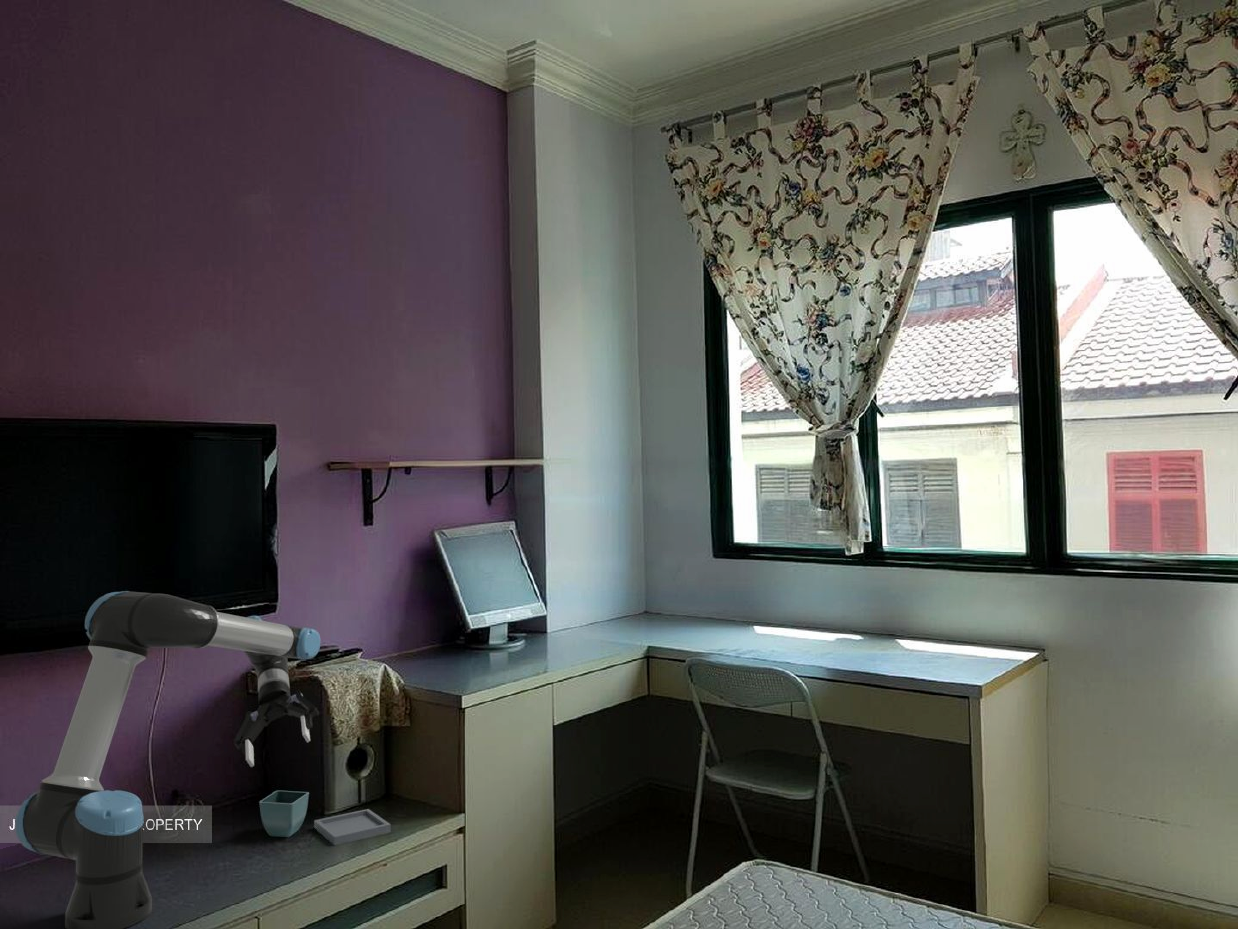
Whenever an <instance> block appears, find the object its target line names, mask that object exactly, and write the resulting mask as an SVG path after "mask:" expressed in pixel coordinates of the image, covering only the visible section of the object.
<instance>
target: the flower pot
mask: <svg viewBox="0 0 1238 929" xmlns="http://www.w3.org/2000/svg"><path fill="white" fill-rule="evenodd" d="M309 795H310V792H309V791H292V790H290V791H289V790H275V791H273V792H272V793H271V794H269V795H267V796H266V797H265V798H263V799H262V800H259V802H258V804H259V812H260V818H261V819H260V820H261V824H262V826H263V828H264V829H265V831H266V833H267V834H268V835H269V836H270V837H279V838H280V837H281V838H289V837H291V836H292V835H294V834H295V833H297V831H299V830H300V828H301V826H302V824H303V823H304V820H305V818H306V815H307V810H308V805H309Z"/></svg>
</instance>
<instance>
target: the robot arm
mask: <svg viewBox="0 0 1238 929" xmlns="http://www.w3.org/2000/svg"><path fill="white" fill-rule="evenodd" d="M84 629H85V630H86V632H85V634H86V635H87V637H88V639H89V640H90V641H89V643H88V646H87V649H88V650H89V652H90V654H91V656H92V659H91V661H90V664H89V667H88V671H87V673H86V677H85V679H84V682H83V686H82V689H81V691H80V694H79V697H78V699H77V703H76V705H75V709H74V711H73V714H72V717H71V720H70V724H69V726H68V729H67V731H66V735H65V738H64V741H63V744H62V746H61V749H60V752H59V754H58V758H57V762H56V764H55V767H54V770H53V772H52V774H50V775H49V776H47V777H46V778H44V779H42V780H41V783H40V785H39V789H38V791H37V792H36V791H35V792H34V793H32V794H30V795H29V797H28V798H27V799H25V800H24V801H23V802H22V804H21V805H20V807H19V808H18V811H17V814H16V818H15V823H14V824H15V825H14V828H15V833H16V834H15V835H16V837H17V839H18V841H19V842H20V844H21V845H22V846H23V847H24V848H25V849H28V850H29V851H32V852H34V853H36V854H39V855H44V856H54V857H59V858H62V859H68V860H69V859H70V860H73V861H75V884H74V888H73V890H72V893H71V895H70V899H69V902H68V904H67V907H66V910H65V914H64V927H65V929H126V928H128V927H129V928H130V927H131V926H134V925H136V924H138V923H140V922H142V921H143V920H144V919H146V918H147V917H148V916H149V915H150V914H151V912H152V911H153V910H152V909H153V907H152V906H153V897H152V894H151V892H150V890H149V886H148V884H147V881H146V879H145V876H144V872H143V848H144V847H143V846H144V820H145V819H144V818H145V817H144V813H143V802H142V800H141V799H140V798H139V796H137V795H136V794H134V793H132V792H130V791H129V792H128V791H126V790H125V791H124V790H117V789H116V790H114V791H113V790H110V789H109V790H106V789H105V790H104V787H103V785H102V784H101V782H100V777H101V775H102V774H101V773H102V770H103V767H104V764H105V762H106V758H107V756H108V755H107V754H108V752H109V749H110V745H111V743H112V740H113V737H114V732H115V731H116V728H117V726H118V721H119V718H120V715H121V712H122V709H123V707H124V706H123V705H124V703H125V700H126V696H127V694H128V691H129V688H130V684H131V681H132V678H133V676H134V675H133V674H134V672H135V668H136V666H137V665H139V664H140V663H141V662H143V661H145V660H146V659H147V657H148V653H149V650H150V649H164V648H165V649H168V648H169V649H171V648H173V649H174V648H189V649H204V648H206V647H207V646H209V647H216V648H223V649H230V650H237V651H243V652H244V653H245V656H247V658H248V659H249V661H250V663H251V665H252V666H253V668H254V669H255V671H256V674H257V692H258V693H257V694H258V708H257V710H256V711H254V712H252V711H251V710H248V711H247V712H245V719H244V720H243V723H241V724H242V725H241V727H240V728H239V730H238V732H237V733H236V736H235V738H234V740H233V744H234V746H235V747H236V748H237V750H241V753H242V754H243V755H244V757H245V761H246V763H247V764H248V765H249V767H250V768H253V767H254V766H255V758H254V757H255V753H254V746H253V744H254V741H255V740H256V739H257V738H258V737H259V735H260V733H261V732H262V731H263V730H264V728H265V727H268V725H270V723H271V722H273V721H275V720H278V719H280V718H283V717H284V716H286V715H287V716H293V717H296V718H298V719H300V722H301V723H300V724H301V733H302V737H303V738H304V740H305V742H306V743H309V742H311V735H310V729H312V728H313V725H314V724H313V718H314V717H317V716H319V715H320V712H319V710H318V708H317V707H316V706H315V705H314V704H313V703H312V702H311V701H310V700H308V698H306V697H305V696H304V695H303V693H302V692H301V690H300V689H297V690H295V692H294V694H293V695H291V688H290V687H291V686H290V677H289V676H290V675H289V667H288V666H289V665H288V662H289V661H288V659H298V660H310V659H313V658H315V657H316V656H317V655H318V653H319V651H320V648H321V642H322V639H321V636H320V633H319V632H318V631H317V630H316V629H314V628H308V627H296V626H290V625H287V624H286V625H285V624H281V623H276V622H272V621H271V622H270V621H267V620H266V621H265V620H263V619H262V618H261V617H260V616H258V615H250V616H249V615H248V616H246V617H245V616H242V615H241V616H240V615H234V614H230V613H226V612H225V613H224V612H218V611H216V609H215V608H214V607H213V606H211V605H208V604H203V603H199V602H196V601H192V600H188V599H185V598H182V597H178V596H175V595H171V594H166V593H152V592H140V591H139V592H138V591H131V590H130V591H129V590H125V591H124V590H123V591H114V592H110V593H106V594H104V595H102V596H100V597H98V598H97V599H96V600H95V601H94V602H93V603H92V604H91V606H90V607H89V609H88V611H87V613H86V615H85V619H84ZM294 702H295V703H298V704H300V705H301V706H302V707H304V708H301V707H297V706H295V705H293V703H294Z"/></svg>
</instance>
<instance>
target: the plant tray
mask: <svg viewBox="0 0 1238 929" xmlns="http://www.w3.org/2000/svg"><path fill="white" fill-rule="evenodd" d="M391 825H392V824H391V823H389V822H388V821H386V820H385V819H383V818H382V817H381V816H380V815H378V814H376V813H375V812H373V811H372V810H371V809H369V808H367V809H362V810H355V811H352V812H347V813H343V814H338V815H335V816H329V817H324V818H319V819H315V820H313V829H314V828H315V829H316V830H317V832H318V833H319V834H320V835H321V834H322V835H323V836H322V835H321V836H322V837H324V838H325V839H326V840H327V841H328V840H329V841H328V842H329V843H331V844H332V845H333V846H338V845H343V844H348V843H351V842H352V843H353V842H355V841H360V840H364V839H369V838H374V837H378V836H382V835H386V834H390V833H391V830H392V828H391V827H392V826H391ZM315 829H314V830H315ZM316 830H315V831H316Z"/></svg>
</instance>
